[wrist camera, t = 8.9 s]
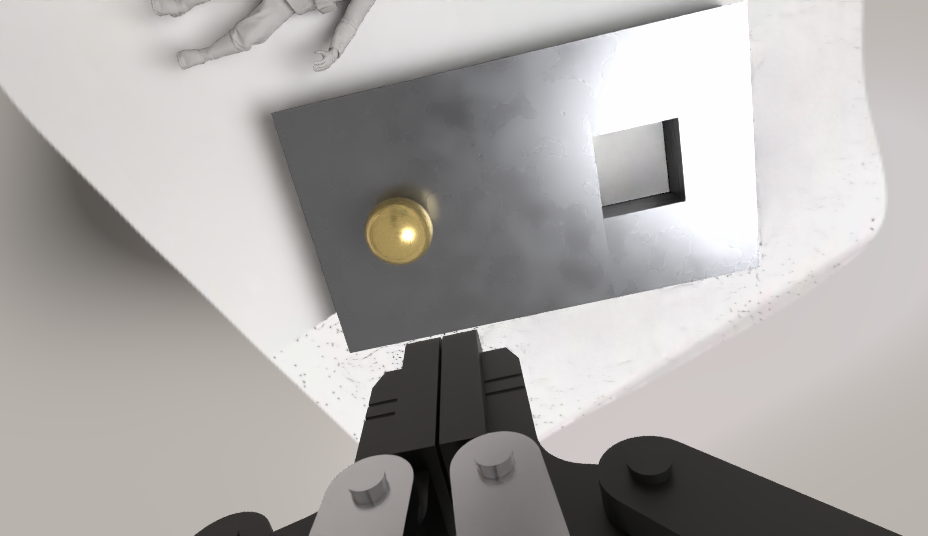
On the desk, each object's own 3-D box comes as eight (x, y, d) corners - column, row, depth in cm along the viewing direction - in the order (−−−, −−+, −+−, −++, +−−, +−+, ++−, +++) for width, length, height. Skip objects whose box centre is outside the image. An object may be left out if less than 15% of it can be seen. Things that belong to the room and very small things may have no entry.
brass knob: (362, 198, 30) (350, 214, 27) (425, 184, 30) (422, 198, 26) (379, 259, 31) (370, 281, 28) (440, 245, 31) (439, 266, 28)
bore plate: (285, 109, 31) (271, 113, 28) (723, 5, 29) (746, 0, 27) (357, 333, 35) (350, 353, 33) (738, 253, 34) (759, 267, 32)
